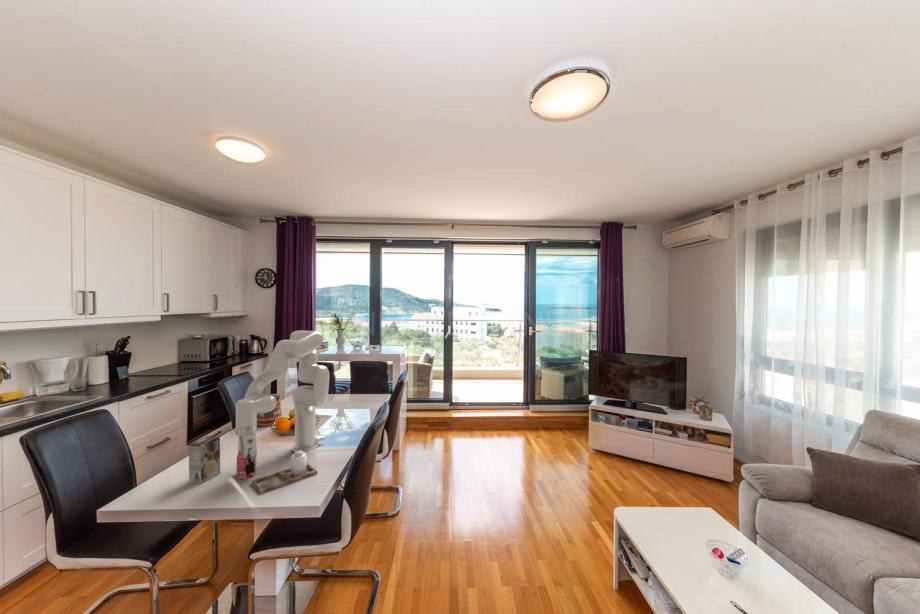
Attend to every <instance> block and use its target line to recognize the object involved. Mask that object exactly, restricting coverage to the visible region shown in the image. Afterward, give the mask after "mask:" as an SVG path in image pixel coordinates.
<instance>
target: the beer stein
mask: <svg viewBox="0 0 920 614" xmlns="http://www.w3.org/2000/svg"><path fill="white" fill-rule="evenodd" d="M261 394H263V393H261ZM264 394H265V395H271V396H273V397H275V398H276V400H277V405H276V407H275V408H274V409H273V410H272V411H270V412H267V413H261V414H257V426H258V427H263V428H264V427H265V428H266V427H272V426H273V425H272V424H274V422H275V420H276V419H277V418H278V417H280V416H282V417H283V413H282V409H281V406H282V405H281V399H280V398H281V396H280V394H277V393H268V394H266V393H264ZM271 425H272V426H271Z"/></svg>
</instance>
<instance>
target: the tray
mask: <svg viewBox="0 0 920 614" xmlns="http://www.w3.org/2000/svg"><path fill="white" fill-rule="evenodd" d="M317 474H318V469H316V468H315V467H313V466H312V465H310V464H309V463H308V462H307V473H306V474H303V475H300V476H297V477H292V476H291V467H288V468H285V469H282V470H279V471H277V472H273V473H271V474H267V475H263V476H261V477H258V478H255V479H252V480H251V481H250V484H251V486H252V487H254V489H255V490H256V491H257V493H259V495H262V494H266V493H268V492H271V491H274V490H276V489H280V488H282V487H284V486H288V485H290V484H294V483H297V482H298V481H301V480H304V479H307V478H310V477H312V476H315V475H317ZM277 477H279V478H277ZM259 483H260V484H259Z"/></svg>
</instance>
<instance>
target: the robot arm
mask: <svg viewBox="0 0 920 614" xmlns="http://www.w3.org/2000/svg"><path fill="white" fill-rule="evenodd" d="M323 341H324V336H323V334H322V333H321V332H320V331H316V330H295V331H294V330H293V332H291V333H290V335H289V339H282V340H279V341H278V342H277V343H276V345H275V347H274V348H273V351H272V354H271V356H270V358H269V361H268V363H267V364H266V366H265V367H266V368H265V369H264V370H263V371H262V372H261V373H260V374H259V375H258V376H257V377H255V378H254V379H253V380H252V381H251V383H250V384H249V386H248V388H247V389H246V392H245V394H244V398H242V399H239V400H237V402H235V435H236V436H237V454H238V453H239V451H240V452H241V453H242V456H243V458H244V459H246V463H247V464H246V474H250V473H253V472H255V459H254V458H255V456H256V457H257V455H258V447H257V446H258V445H257V443H258V442H257V434H256V432H257V429H258V427H257V414H261V413H267V412H270V411H272V410H273V409H274V408H275V407H276V405H277V400H276V398H275V397H273V396H271V395H265V394H266V393H262V392H263V391H264V389H265V388H266V386H268V385H269V384H270V383H272V382H273V381H276V380H278V379H280V378H282V377H284V376H285V375H286V373H287V370H288V368H289V365H290V364H291V363H290V362H291V360H292V359H299V361H298V371H297V378H298V379H297V380H298V381H299V382H300V383H304V384H312V385H300V386H297V387H296V388H295V389H294V390H293V393H292V402H293V407H294V444H293V445H292V446H291V451H292V452H293V453H295V452H296V451H303V452H305V453H306V452H309V451H312V450H316V449H317V448H319V441H324V440H325V435H322V436H321V435H317V436H316V409H315V408H316V407H317V408H319V407H323V406H324V405H325V404H326V403H327V400H328V397H329V389H330V386H329V385H330V375H331V374H330V371H329V369H328V367H327V366H325V365H322V364H318V352H317V349H319V348H320V347H321V346H322V345H323ZM261 393H262V394H261ZM248 455H250V456H248ZM247 456H248V457H247ZM249 458H250V459H249ZM248 459H249V461H248Z"/></svg>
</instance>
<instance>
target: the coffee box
mask: <svg viewBox="0 0 920 614" xmlns="http://www.w3.org/2000/svg"><path fill="white" fill-rule="evenodd" d="M220 438H221V437H220V436H211V435H210V436H209V435H207V436H204V437H202V438H200V439H198V440H195V441H193V442H191V443H188V482H189V483H191V482H192V483H193V484H199V483H202V484H203V482H204V483H205V482H207V481H209V480H211V479H212V478H213V479H214V477H216V476H219V474H221V441H220V440H221V439H220Z"/></svg>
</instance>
